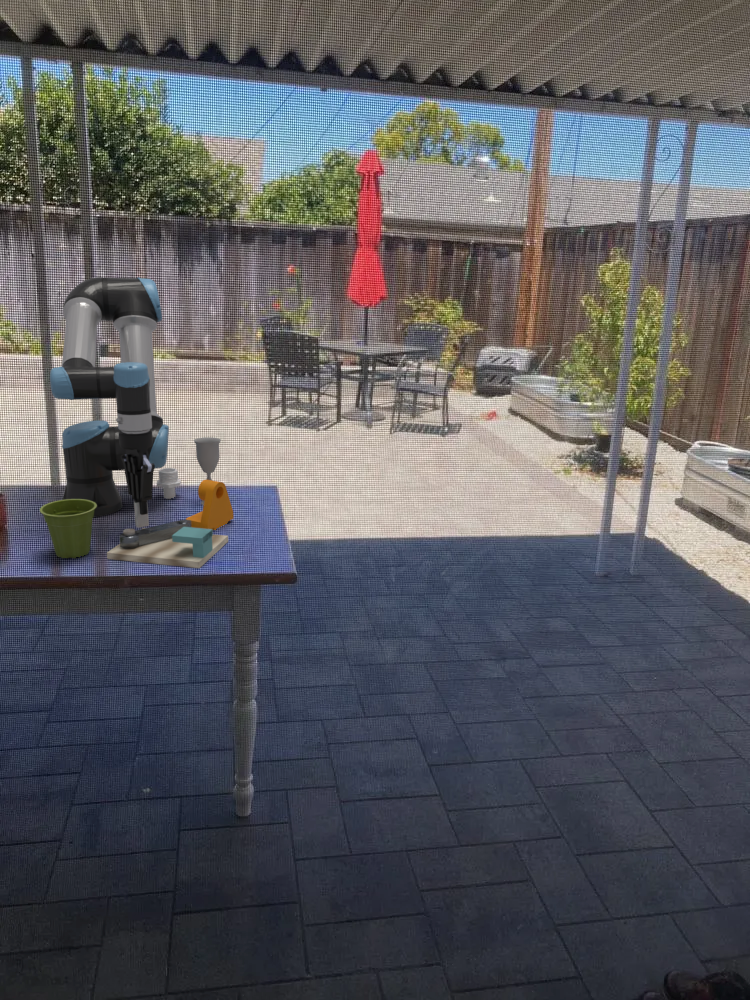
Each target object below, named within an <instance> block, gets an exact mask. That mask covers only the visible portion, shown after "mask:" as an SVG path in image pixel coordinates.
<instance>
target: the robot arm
mask: <svg viewBox="0 0 750 1000" xmlns="http://www.w3.org/2000/svg"><path fill="white" fill-rule="evenodd" d="M62 314H63V318H64V320H65V329H64V337H63V338H64V340H63V348H62V349H63V350H62V358H61V359H62V360H61V361H62V362H61V366H59V367H58V366H56V367H53V368H51V370H50V372H49V373H50V375H49V381H50V384H49V385H50V390H51V394H52V396H53V397H54V399H57V400H70V401H73V400H99V399H102V400H103V399H104V400H105V399H107V400H109V399H110V400H111V399H114V400H115V401H116V402H115V403H116V413H117V414H116V415H117V418H116V419H115V421H116V422H117V426H110V424H109V422H108V421H107V420H105V419H104V420H98V419H97V420H89V421H83V422H79V423H76V424H72V425H69V426H67V427H66V428H65V429H64V430H63V431H62V433H61V436H62V445H61V448H62V451H63V459H64V460H63V461H64V468H65V469H64V471H65V478H66V480H65V481H66V482H65V483H66V485H65V488H64V493H63V496H62V500H66V499H85V500H90V501H93V502H95V503H96V504H97V507H96V508H95V509H94V517H93V518H95V517H105V516H107V515H111V514H114V513H116V512H119V511H120V510H122V508H123V499H122V497H121V494H120V492H119V489H118V487H117V485H116V483H115V481H114V475H113V473H114V472H113V471H124V474H125V481H126V486H127V492H128V496H131V499H132V500H133V508H134V509H133V511H134V521H135V527H136V528H137V529H140V528H146V527H148V526H149V527H150V523H149V522H150V521H149V507H148V506H149V505H148V501H151V500H153V486H154V485H153V484H154V483H153V482H154V471H155V470H156V469H163V468H164V467H165V466H166V464H167V460H168V451H169V450H168V449H169V433H170V427H169V425H168V424H165V423H164V419H163V416H161V415H159V414H158V412H157V397H156V396H157V395H156V394H157V393H156V382H155V381H156V378H155V364H154V362H155V361H154V347H153V345H154V344H153V342H154V341H153V332H154V331H156V329H157V328H158V323H159V322H162V320H163V314H162V309H161V301H160V295H159V291H158V287H157V283H156V282H155V281H154V280H153V279H151V278H143V277H142V278H141V277H139V276H138V277H101V276H100V277H99V276H96V277H90V278H88V279H86V280H83V281H82V282H80V283H78V284H77V285H76V286H75V287H74V288H73V289H72V290H70V292H69V293H68V295H67V296H66V297H65V300H64V303H63V308H62ZM101 322H113V323H112V326H113V329H114V330H116V331H118V332H119V334H118V335H119V349H120V350H119V352H120V363H116V364H115V365H114V366H96V360H97V359H96V358H97V357H96V356H97V337H98V336H97V335H98V326H99V325H100V323H101Z"/></svg>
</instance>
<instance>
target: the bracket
mask: <svg viewBox="0 0 750 1000" xmlns="http://www.w3.org/2000/svg"><path fill="white" fill-rule="evenodd" d="M197 494H198V495H197V496H198V499H200V500H201V501H202V500H203V501H204V505H202V506H203V508H202V511H200V512H197V513H195V514H192V515H190V516H189V517H186V518H185V520H190V521H191V526H192V527H193V528H203V529H213V530H215V531H216V529H217V528H219V527H221V526H223V525H225V524H227V523H228V522H229V521H231V520H234V518H235V517H234V510H233V506H232V503H231V500H230V497H229V492H228V489H227V487H226V484H225V483H224V482H222V481H217V480H213V479H212V480H206V479H203V480H201V482H200V483H199V485H198V489H197ZM227 525H228V524H227ZM225 526H226V525H225ZM223 527H224V526H223ZM221 528H222V527H221ZM219 529H220V528H219ZM217 530H218V529H217Z"/></svg>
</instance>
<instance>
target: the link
mask: <svg viewBox="0 0 750 1000" xmlns="http://www.w3.org/2000/svg"><path fill="white" fill-rule="evenodd" d="M183 527H192V526H191V521H190V520H186V519H180V520H175V521H171V522H167V523H164V524H163V523H161V524H157V525H153V526H151V527H150V526H149V527H144V528H145V529H142V528H141V529H137V530H136V529H135V534H134V535H131V536H125V535H123V532H122V533H120V534H119V535H118V536H119V544H120V547H121V548H124V549H132V548H136V547H138V546H141V545H145V544H149V543H153V542H157V541H161V540H165V539H169V538H172V535H173V534H175V533H176V532H177V531H179V530H180V529H181V528H183Z"/></svg>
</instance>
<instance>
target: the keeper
mask: <svg viewBox="0 0 750 1000" xmlns="http://www.w3.org/2000/svg"><path fill="white" fill-rule="evenodd" d="M213 534H214V532H213V529H203V528H193V527H183V528H181V529H180V530H179V531H177V532H176V533H175V534H173V535H172V542H179V543H190V544H193V557H201V558H204V557H205V556H206V555H207V554H209V553H210V552H211V551H212V550H213V548H212V536H213Z"/></svg>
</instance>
